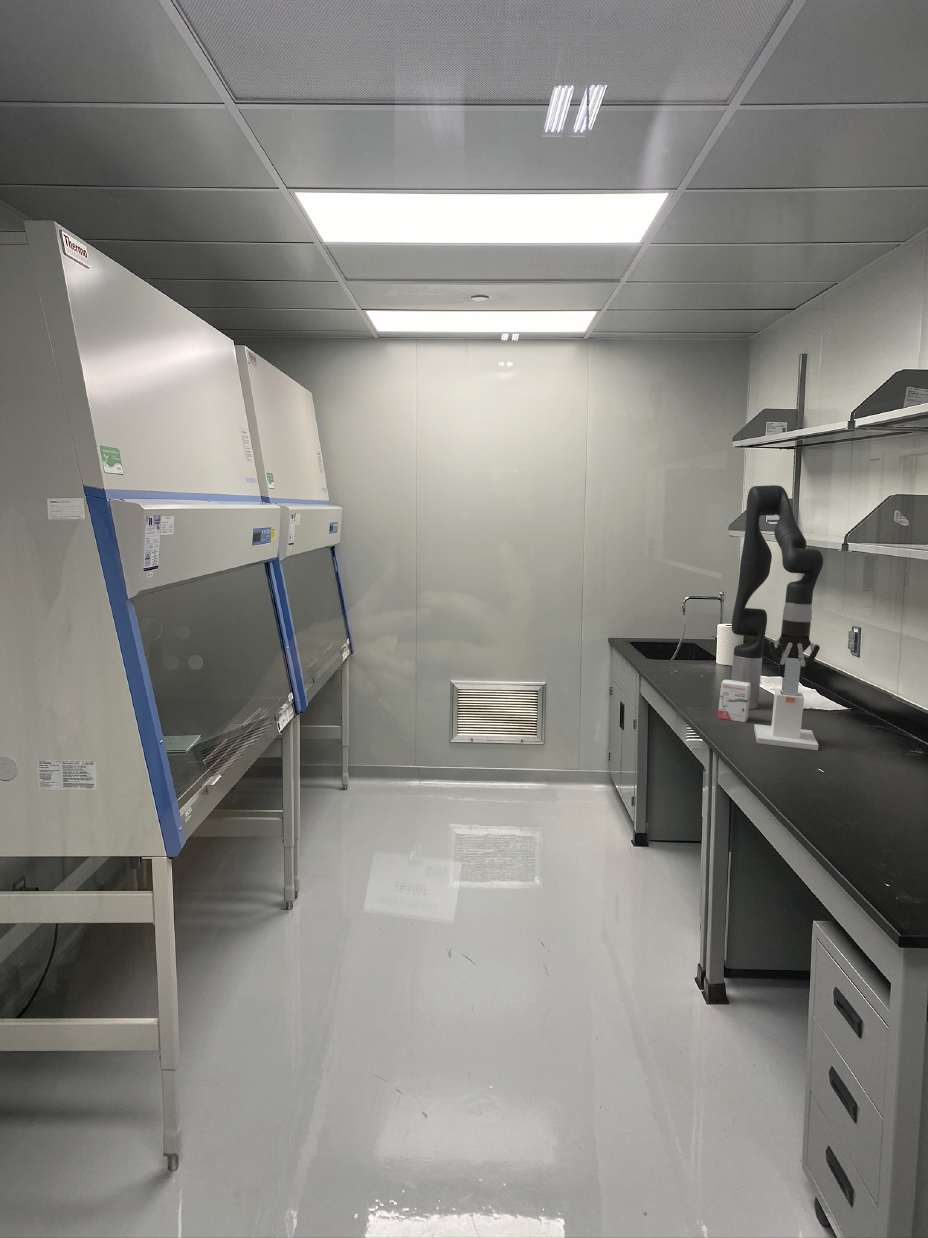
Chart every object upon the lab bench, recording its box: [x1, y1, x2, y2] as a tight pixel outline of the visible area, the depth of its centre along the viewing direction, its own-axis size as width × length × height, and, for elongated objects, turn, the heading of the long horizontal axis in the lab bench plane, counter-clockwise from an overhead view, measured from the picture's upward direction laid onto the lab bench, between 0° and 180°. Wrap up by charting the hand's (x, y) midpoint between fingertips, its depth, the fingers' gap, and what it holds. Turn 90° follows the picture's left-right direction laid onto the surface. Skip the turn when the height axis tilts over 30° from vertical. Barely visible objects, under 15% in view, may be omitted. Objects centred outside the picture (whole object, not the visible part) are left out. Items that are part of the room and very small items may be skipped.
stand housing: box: [753, 689, 819, 751], centre depth 234 cm, size 16×16×14 cm
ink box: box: [717, 679, 751, 723], centre depth 256 cm, size 9×5×12 cm, turn 62°
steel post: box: [780, 657, 801, 696], centre depth 234 cm, size 4×4×22 cm
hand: (790, 677), depth 233 cm, fingers closed on steel post, 4 cm apart
